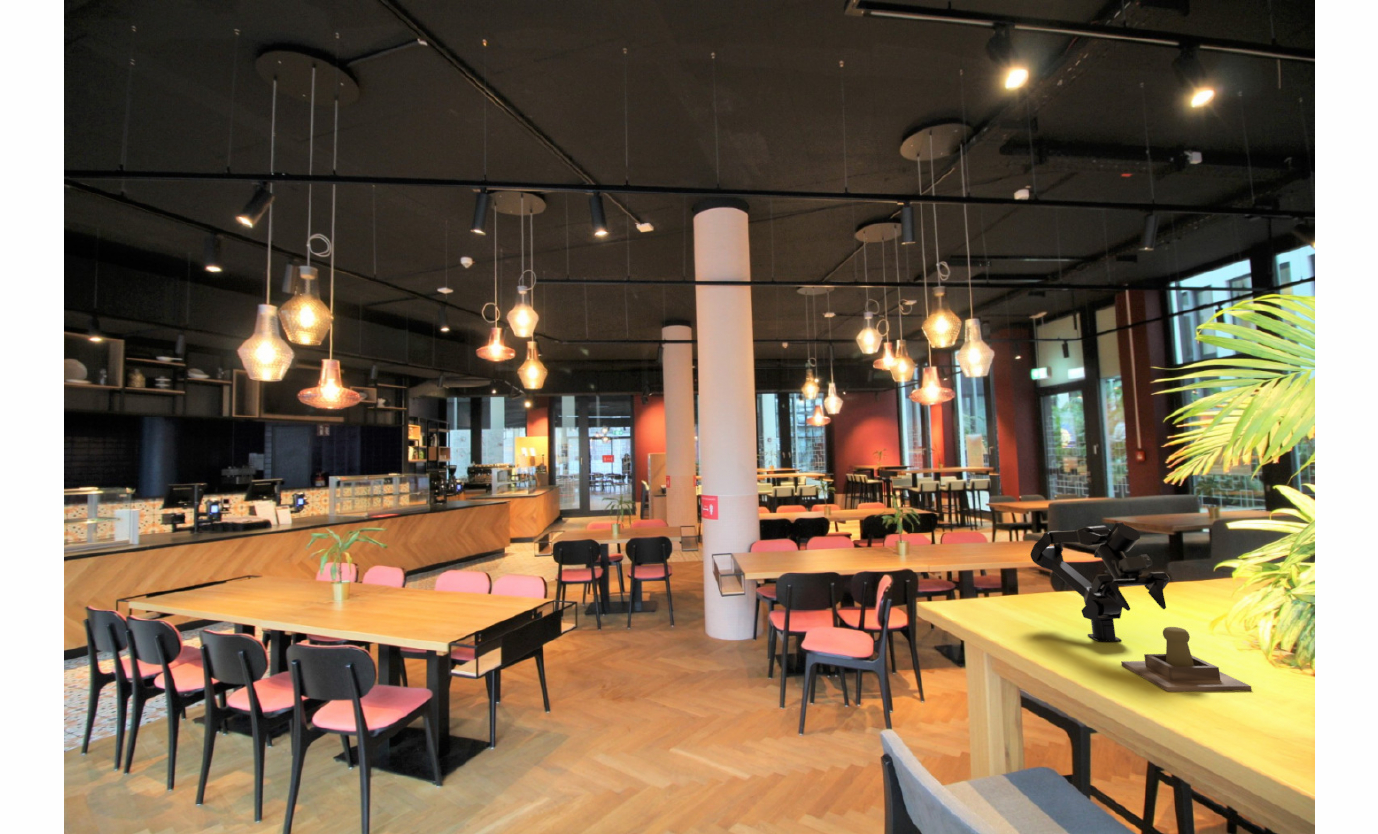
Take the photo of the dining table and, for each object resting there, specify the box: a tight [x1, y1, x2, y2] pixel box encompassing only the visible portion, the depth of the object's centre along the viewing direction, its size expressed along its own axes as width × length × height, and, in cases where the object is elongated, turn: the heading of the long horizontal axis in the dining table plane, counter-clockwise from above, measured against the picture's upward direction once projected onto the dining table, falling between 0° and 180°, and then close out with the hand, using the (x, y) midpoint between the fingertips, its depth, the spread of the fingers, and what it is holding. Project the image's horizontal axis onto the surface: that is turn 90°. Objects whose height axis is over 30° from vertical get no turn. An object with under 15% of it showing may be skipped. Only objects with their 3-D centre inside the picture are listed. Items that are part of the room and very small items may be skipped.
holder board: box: [1120, 653, 1253, 692], centre depth 145 cm, size 18×18×4 cm
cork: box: [1162, 626, 1194, 666], centre depth 146 cm, size 6×6×11 cm
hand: (1146, 609), depth 158 cm, fingers open, 9 cm apart
